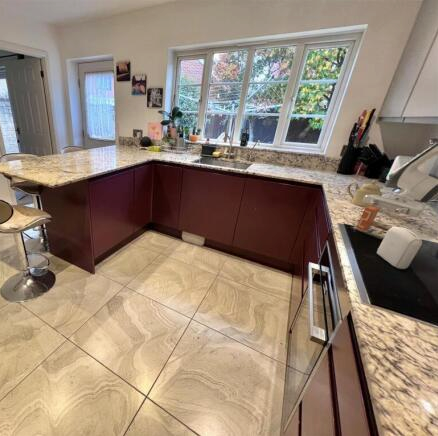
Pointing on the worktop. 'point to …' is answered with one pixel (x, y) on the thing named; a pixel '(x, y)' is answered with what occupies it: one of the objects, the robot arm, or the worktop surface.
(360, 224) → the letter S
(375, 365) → the worktop surface
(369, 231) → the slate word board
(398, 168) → the robot arm
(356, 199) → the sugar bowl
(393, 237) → the photo printer
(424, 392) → the worktop surface
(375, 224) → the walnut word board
